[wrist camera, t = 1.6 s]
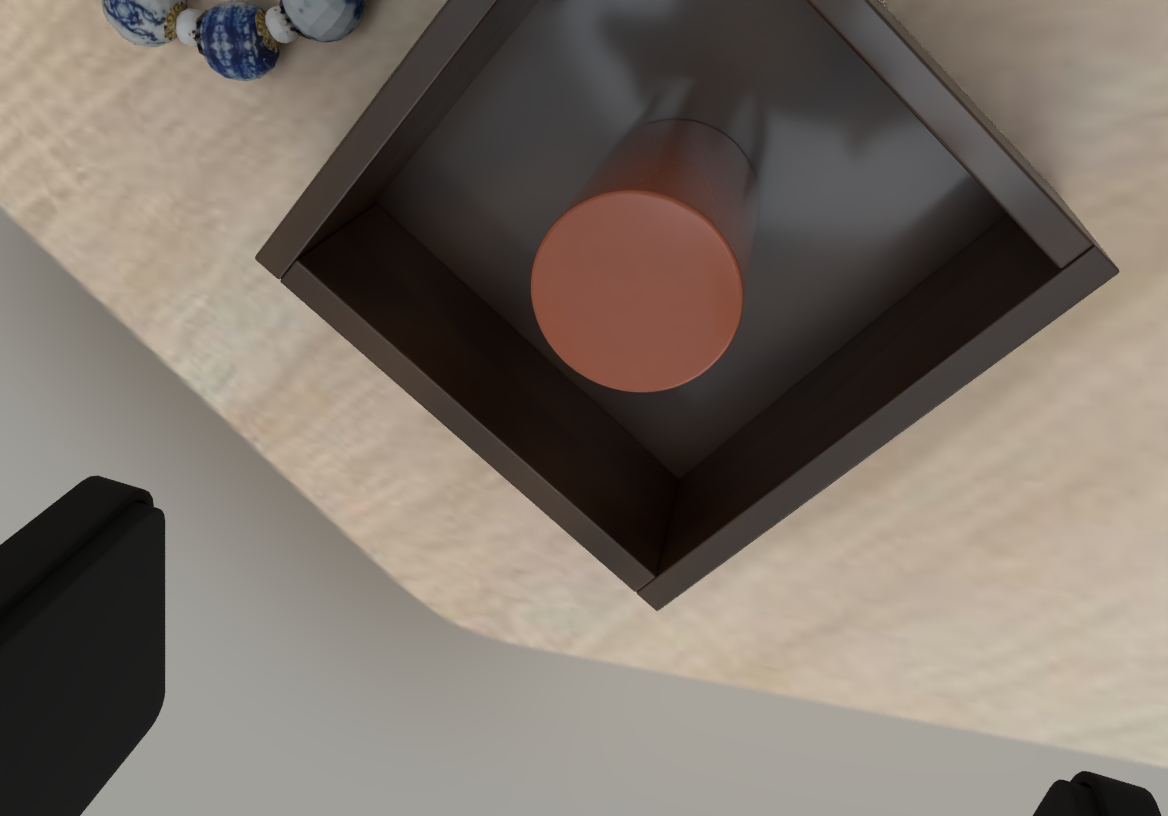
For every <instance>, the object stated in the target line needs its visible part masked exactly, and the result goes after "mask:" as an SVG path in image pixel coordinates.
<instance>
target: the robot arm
mask: <svg viewBox="0 0 1168 816" xmlns="http://www.w3.org/2000/svg"><path fill="white" fill-rule="evenodd" d="M164 697H165V518H164V513H163V512H162V510H160V509H158V508H155V507H154V505H153V498H152V496H151V495H150V493H149V492H148V491H146V490H144V489H141V488H137V487H134V486H131V485H127V484H124V483H120V482H117V481H114V480H110V479H107V478H104V477H100V476H90V477H88V478H87V479H85V480H83V481H82V482H80V483H79V484H78V485H76V486H75V487H74V488H73V489H72V490H70V491H69V492H67V493H66V494H65V495H64V496H62V497H61V498H60V499H59V500H57V501H56V502H55V503H53V504H52V505H51V506H50V507H48V508H47V509H46V510H44V511H43V512H42V513H41V514H40V515H38V516H37V517H36V518H34V519H33V520H32V521H30V522H29V523H28V524H27V525H25V526H24V527H23V528H22V529H20V530H19V531H18V532H16V533H15V534H14V535H13V536H11V537H10V538H9V539H8V540H6V541H5V542H4V543H3V544H1V545H0V816H80V815H81V814H82V812H83V811H84V810H85V809H86V807H87V806H88V805H89V804H90V803H91V801H92V800H93V799H94V798H95V796H96V795H97V794H98V793H99V791H100V790H101V789H102V788H103V787H104V785H105V784H106V783H107V781H108V780H109V779H110V778H111V777H112V775H113V774H114V773H115V772H116V770H117V769H118V768H119V766H120V765H121V764H122V763H123V762H124V761H125V759H126V758H127V757H128V756H129V754H130V753H131V752H132V751H133V749H134V748H135V747H136V746H137V744H138V743H139V742H140V741H141V739H142V738H143V737H144V736H145V734H146V733H147V732H148V731H149V729H150V728H151V727H152V725H153V724H154V722H155V721H156V719H157V717H158V715H159V713H160V710H161V708H162V705H163V701H164ZM1033 816H1161V813H1160V811H1159V808H1158V806H1157V803H1156V801H1155V799H1154V798H1153V796H1152V794H1151V793H1150V792H1149V791H1147V790H1146V789H1145V788H1142V787H1139V786H1135V785H1132V784H1129V783H1125V782H1122V781H1119V780H1115V779H1112V778H1109V777H1105V776H1102V775H1098V774H1095V773H1092V772H1087V771H1082V772H1080V773H1078V774H1076V775H1075V776H1074V777H1073V779H1072V780H1071V781H1070V782H1069V781H1065V780H1058V781H1056V782H1054V784H1053V785H1052V786H1051V787H1050V789H1049V791H1048V792H1047V793H1046V795H1045V797H1044V799H1043V800H1042V802H1041V803H1040V805H1039V806H1038V808H1037V810H1036V811H1035V813H1034V814H1033Z"/></svg>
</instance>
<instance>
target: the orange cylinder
mask: <svg viewBox="0 0 1168 816" xmlns="http://www.w3.org/2000/svg"><path fill="white" fill-rule="evenodd" d="M759 210H760V193H759V187H758V182H757V179H756V176H755V173H754V171H753V168H752V166H751V164H750V162H749V161H748V159H747V158H746V156H745V155H744V153H743V152H742V151H741V149H740V148H739V147H738V146H737V145H736V144H735V143H734V142H733V141H732V140H731V139H729V138H728V137H727V136H726V135H724V134H723V133H721V132H720V131H718V130H716V129H714V128H712V127H710V126H708V125H705V124H702V123H699V122H695V121H690V120H681V119H670V120H661V121H657V122H652V123H650V124H647V125H644V126H642V127H640V128H638V129H636V130H634V131H632V132H631V133H629V134H628V135H626V136H625V137H624V138H622V139H621V140H620V141H619V142H618V143H617V144H616V145H615V146H614V147H613V149H612V150H611V151H610V152H609V154H608V155H607V156H606V157H605V159H604V160H603V161H602V163H601V164H600V165H599V166H598V168H597V169H596V170H595V171H594V173H593V174H592V175H591V176H590V178H589V179H588V180H587V182H586V183H585V184H584V185H583V187H582V188H581V189H580V190H579V192H578V193H577V194H576V196H575V197H574V198H573V199H572V201H571V202H570V203H569V204H568V206H567V207H566V208H565V209H564V211H563V212H562V213H561V215H560V216H559V217H558V218H557V220H556V221H555V222H554V223H553V225H552V226H551V227H550V229H549V230H548V231H547V233H546V234H545V236H544V238H543V239H542V241H541V243H540V245H539V248H538V250H537V252H536V255H535V259H534V262H533V266H532V273H531V298H532V304H533V309H534V312H535V316H536V319H537V321H538V324H539V326H540V328H541V331H542V332H543V334H544V336H545V338H546V339H547V341H548V343H549V344H550V345H551V347H552V348H553V349H554V351H555V352H556V353H557V354H558V355H559V356H560V357H561V358H562V359H563V360H564V361H565V362H566V363H567V364H568V365H569V366H570V367H572V368H573V369H574V370H575V371H577V372H578V373H580V374H582V375H583V376H585V377H586V378H588V379H590V380H592V381H594V382H596V383H598V384H601V385H604V386H607V387H610V388H613V389H618V390H622V391H630V392H654V391H661V390H666V389H670V388H674V387H677V386H680V385H682V384H685V383H687V382H689V381H691V380H693V379H695V378H696V377H698V376H700V375H701V374H703V373H704V372H705V371H707V370H708V369H709V368H711V367H712V366H713V365H714V364H715V363H716V362H717V361H718V360H719V359H720V358H721V356H722V355H723V354H724V352H725V351H726V350H727V349H728V347H729V345H730V343H731V342H732V340H733V338H734V336H735V334H736V331H737V329H738V326H739V323H740V319H741V315H742V310H743V304H744V299H745V293H746V287H747V282H748V276H749V270H750V264H751V259H752V253H753V247H754V241H755V236H756V230H757V224H758V218H759Z"/></svg>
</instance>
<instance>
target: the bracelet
mask: <svg viewBox="0 0 1168 816" xmlns="http://www.w3.org/2000/svg"><path fill="white" fill-rule="evenodd" d="M102 4H103V12H104V15H105V17H106V19H107V21H108V22H109V23H110V24H111V25H112V26H113V27H114V29H115V30H116V31H117V32H118V33H119V34H120V35H121V36H122V37H123V38H125V39H127V40H128V41H130V42H132V43H133V44H135V45H140V46H146V47H158V46H161V45H163V44H166V43H168V42H170V41H173V40H174V39H175V38H176V37H178V38H179V40H180V41H181V42H182V43H184V44H185V45H189V46H198V50H199V53H200V54H202V55H204V56H205V59H206V61H207V62H208V64H209V65H210V67H211V68H212V69H213V70H215V71H216V72H218V73H219V74H221V75H222V76H224V77H225V78H230V79H235V80H242V81H248V80H253V79H258V78H261V77H262V76H263V75H264V74H266V73H267V72H268V71H269V70H271V69H272V68H273V67H275V64H276V62H277V59H278V57H279V48H280V46H281V43H289V42H291V41H294V40H295V39H296V38H298V36H302V37H305V38H308V39H310V40H311V39H314V40H316V41H319V42H331V41H337V40H341V39H342V38H344V37H345V36H346V35H348V34H349V33H351V32H352V31H353V30H354V29H355V28H356V27H357V25H358V23H359V22H360V20H361V19H362V17H363V13H364V7H365V0H281V1H280V4H279V5H277V6H274V7H272V8H270V9H269V10H268V11H267V12H265V11H264V10H262V9H261V8H259V7H258V6H256V5H255V4H250V3H244V2H239V1H234V0H233V1H228V2H224V3H220V4H218V5H216V6H215V7H213V8H212V9H211V10H210V11H207V10H206V11H205V12H204V13H202V12H201V11H199V10H198V9H191V8H188V9H187V5H186V0H103V2H102Z"/></svg>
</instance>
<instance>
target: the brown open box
mask: <svg viewBox="0 0 1168 816" xmlns="http://www.w3.org/2000/svg"><path fill="white" fill-rule="evenodd" d="M670 119H681V120H690V121H695V122H699V123H702V124H705V125H708V126H710V127H712V128H714V129H716V130H718V131H720V132H721V133H723V134H724V135H726V136H727V137H728V138H729V139H731V140H732V141H733V142H734V143H735V144H736V145H737V146H738V147H739V148H740V149H741V151H742V152H743V153H744V155H745V156H746V158H747V159H748V161H749V162H750V164H751V166H752V168H753V171H754V173H755V176H756V179H757V182H758V187H759V193H760V210H759V218H758V224H757V230H756V236H755V241H754V247H753V253H752V259H751V264H750V270H749V276H748V282H747V287H746V293H745V299H744V304H743V310H742V315H741V319H740V323H739V326H738V329H737V331H736V334H735V336H734V338H733V340H732V342H731V343H730V345H729V347H728V349H727V350H726V351H725V352H724V354H723V355H722V356H721V358H720V359H719V360H718V361H717V362H716V363H715V364H714V365H713V366H712V367H711V368H709V369H708V370H707V371H705V372H704V373H703V374H701V375H700V376H698V377H696V378H695V379H693V380H691V381H689V382H687V383H685V384H682V385H680V386H677V387H674V388H670V389H666V390H661V391H654V392H630V391H622V390H618V389H613V388H610V387H607V386H604V385H601V384H598V383H596V382H594V381H592V380H590V379H588V378H586V377H585V376H583V375H582V374H580V373H578V372H577V371H575V370H574V369H573V368H572V367H570V366H569V365H568V364H567V363H566V362H565V361H564V360H563V359H562V358H561V357H560V356H559V355H558V354H557V353H556V352H555V351H554V349H553V348H552V347H551V345H550V344H549V343H548V341H547V339H546V338H545V336H544V334H543V332H542V331H541V328H540V326H539V324H538V321H537V319H536V316H535V312H534V309H533V304H532V298H531V273H532V266H533V262H534V259H535V255H536V252H537V250H538V248H539V245H540V243H541V241H542V239H543V238H544V236H545V234H546V233H547V231H548V230H549V229H550V227H551V226H552V225H553V223H554V222H555V221H556V220H557V218H558V217H559V216H560V215H561V213H562V212H563V211H564V209H565V208H566V207H567V206H568V204H569V203H570V202H571V201H572V199H573V198H574V197H575V196H576V194H577V193H578V192H579V190H580V189H581V188H582V187H583V185H584V184H585V183H586V182H587V180H588V179H589V178H590V176H591V175H592V174H593V173H594V171H595V170H596V169H597V168H598V166H599V165H600V164H601V163H602V161H603V160H604V159H605V157H606V156H607V155H608V154H609V152H610V151H611V150H612V149H613V147H614V146H615V145H616V144H617V143H618V142H619V141H620V140H621V139H622V138H624V137H625V136H626V135H628V134H629V133H631V132H632V131H634V130H636V129H638V128H640V127H642V126H644V125H647V124H650V123H652V122H657V121H661V120H670ZM255 259H256V260H257V261H258V262H259V263H260V264H261V265H262V266H264V267H265V268H266V269H267V270H268V271H269V272H270V273H272V274H273V275H274V276H275V277H276V278H278V279H281V283H282V284H284V285H285V286H286V287H287V288H288V289H289V290H290V291H292V292H293V293H294V294H295V295H296V296H297V297H298V298H300V299H301V300H302V301H303V302H304V303H305V304H306V305H308V306H309V307H310V308H311V309H312V310H313V311H314V312H316V313H317V314H318V315H319V316H320V317H321V318H322V319H324V320H325V321H326V322H327V323H328V324H329V325H330V326H332V327H333V328H334V329H335V330H336V331H337V332H338V333H340V334H341V335H342V336H343V337H344V338H345V339H346V340H348V341H349V342H350V343H351V344H352V345H353V346H354V347H356V348H357V349H358V350H359V351H360V352H361V353H362V354H364V355H365V356H366V357H367V358H368V359H369V360H370V361H372V362H373V363H374V364H375V365H376V366H377V367H378V368H380V369H381V370H382V371H383V372H384V373H385V374H386V375H388V376H389V377H390V378H391V379H392V380H393V381H394V382H396V383H397V384H398V385H399V386H400V387H401V388H402V389H404V390H405V391H406V392H407V393H408V394H409V395H410V396H412V397H413V398H414V399H415V400H416V401H417V402H418V403H420V404H421V405H422V406H423V407H424V408H425V409H426V410H428V411H429V412H430V413H431V414H432V415H433V416H434V417H436V418H437V419H438V420H439V421H440V422H441V423H442V424H444V425H445V426H446V427H447V428H448V429H449V430H450V431H452V432H453V433H454V434H455V435H456V436H457V437H458V438H460V439H461V440H462V441H463V442H464V443H465V444H466V445H468V446H469V447H470V448H471V449H472V450H473V451H474V452H476V453H477V454H478V455H479V456H480V457H481V458H482V459H484V460H485V461H486V462H487V463H488V464H489V465H490V466H492V467H493V468H494V469H495V470H496V471H497V472H498V473H500V474H501V475H502V476H503V477H504V478H505V479H506V480H508V481H509V482H510V483H511V484H512V485H513V486H514V487H516V488H517V489H518V490H519V491H520V492H521V493H522V494H524V495H525V496H526V497H527V498H528V499H529V500H530V501H532V502H533V503H534V504H535V505H536V506H537V507H538V508H540V509H541V510H542V511H543V512H544V513H545V514H546V515H548V516H549V517H550V518H551V519H552V520H553V521H554V522H556V523H557V524H558V525H559V526H560V527H561V528H562V529H564V530H565V531H566V532H567V533H568V534H569V535H570V536H572V537H573V538H574V539H575V540H576V541H577V542H579V543H580V544H581V545H582V546H583V547H584V548H585V549H587V550H588V551H589V552H590V553H591V554H592V555H593V556H595V557H596V558H597V559H598V560H599V561H600V562H601V563H603V564H604V565H605V566H606V567H607V568H608V569H609V570H611V571H612V572H613V573H614V574H615V575H616V576H617V577H619V578H620V579H621V580H622V581H623V582H624V583H625V584H627V585H628V586H629V587H630V588H631V589H632V590H633V591H635V592H637V594H638V595H639V596H640V597H641V598H642V599H644V600H645V601H646V602H647V603H648V604H649V605H650V606H652V607H653V608H654V609H655V610H656V611H659V610H660V609H661V608H663V607H664V606H665V605H667V604H668V603H669V602H671V601H672V600H674V599H675V598H676V597H678V596H679V595H680V594H682V593H683V592H684V591H686V590H687V589H689V588H690V587H691V586H693V585H694V584H695V583H697V582H698V581H699V580H701V579H702V578H704V577H705V576H706V575H708V574H709V573H710V572H712V571H713V570H714V569H716V568H717V567H719V566H720V565H721V564H723V563H724V562H725V561H727V560H728V559H729V558H731V557H732V556H734V555H735V554H736V553H738V552H739V551H740V550H742V549H743V548H744V547H746V546H747V545H748V544H750V543H751V542H753V541H754V540H755V539H757V538H758V537H759V536H761V535H762V534H763V533H765V532H766V531H768V530H769V529H770V528H772V527H773V526H774V525H776V524H777V523H778V522H780V521H781V520H783V519H784V518H785V517H787V516H788V515H789V514H791V513H792V512H793V511H795V510H796V509H798V508H799V507H800V506H802V505H803V504H804V503H806V502H807V501H808V500H810V499H811V498H813V497H814V496H815V495H817V494H818V493H819V492H821V491H822V490H823V489H825V488H826V487H828V486H829V485H830V484H832V483H833V482H834V481H836V480H837V479H838V478H840V477H841V476H843V475H844V474H845V473H847V472H848V471H849V470H851V469H852V468H853V467H855V466H856V465H858V464H859V463H860V462H862V461H863V460H864V459H866V458H867V457H868V456H870V455H871V454H873V453H874V452H875V451H877V450H878V449H879V448H881V447H882V446H883V445H885V444H886V443H888V442H889V441H890V440H892V439H893V438H894V437H896V436H897V435H898V434H900V433H901V432H903V431H904V430H905V429H907V428H908V427H909V426H911V425H912V424H913V423H915V422H916V421H918V420H919V419H920V418H922V417H923V416H924V415H926V414H927V413H928V412H930V411H931V410H933V409H934V408H935V407H937V406H938V405H939V404H941V403H942V402H943V401H945V400H946V399H948V398H949V397H950V396H952V395H953V394H954V393H956V392H957V391H958V390H960V389H961V388H963V387H964V386H965V385H967V384H968V383H969V382H971V381H972V380H973V379H975V378H976V377H977V376H979V375H980V374H982V373H983V372H984V371H986V370H987V369H988V368H990V367H991V366H992V365H994V364H995V363H997V362H998V361H999V360H1001V359H1002V358H1003V357H1005V356H1006V355H1007V354H1009V353H1010V352H1012V351H1013V350H1014V349H1016V348H1017V347H1018V346H1020V345H1021V344H1022V343H1024V342H1025V341H1027V340H1028V339H1029V338H1031V337H1032V336H1033V335H1035V334H1036V333H1037V332H1039V331H1040V330H1042V329H1043V328H1044V327H1046V326H1047V325H1048V324H1050V323H1051V322H1052V321H1054V320H1055V319H1057V318H1058V317H1059V316H1061V315H1062V314H1063V313H1065V312H1066V311H1067V310H1069V309H1070V308H1072V307H1073V306H1074V305H1076V304H1077V303H1078V302H1080V301H1081V300H1082V299H1084V298H1085V297H1087V296H1088V295H1089V294H1091V293H1092V292H1093V291H1095V290H1096V289H1097V288H1099V287H1100V286H1102V285H1103V284H1104V283H1106V282H1107V281H1108V280H1110V279H1111V278H1112V277H1114V276H1115V275H1117V274H1118V273H1119V269H1118V268H1117V267H1116V265H1115V264H1114V263H1113V262H1112V260H1111V259H1110V258H1109V257H1108V255H1107V254H1106V253H1105V252H1104V250H1103V249H1102V248H1101V247H1100V245H1099V244H1098V243H1097V242H1096V240H1095V239H1094V238H1093V237H1092V235H1091V234H1090V233H1089V232H1088V230H1087V229H1086V228H1085V227H1084V225H1083V224H1082V223H1081V222H1080V220H1079V219H1078V218H1077V217H1076V215H1075V214H1074V213H1073V212H1072V210H1071V209H1070V208H1069V207H1068V205H1067V204H1066V203H1065V202H1064V200H1063V199H1062V198H1061V197H1060V196H1059V195H1058V194H1057V192H1056V191H1055V190H1054V189H1053V188H1052V187H1051V186H1050V185H1049V184H1048V183H1047V182H1046V181H1045V179H1044V178H1043V177H1042V176H1041V175H1040V174H1039V173H1038V172H1037V171H1036V170H1035V169H1034V168H1033V166H1032V165H1031V164H1030V163H1029V162H1028V161H1027V160H1026V159H1025V158H1024V157H1023V156H1022V155H1021V153H1020V152H1019V151H1018V150H1017V149H1016V148H1015V147H1014V146H1013V145H1012V144H1011V143H1010V142H1009V141H1008V139H1007V138H1006V137H1005V136H1004V135H1003V134H1002V133H1001V132H1000V131H999V130H998V129H997V128H996V126H995V125H994V124H993V123H992V122H991V121H990V120H989V119H988V118H987V117H986V116H985V115H984V113H983V112H982V111H981V110H980V109H979V108H978V107H977V106H976V105H975V104H974V103H973V102H972V100H971V99H970V98H969V97H968V96H967V95H966V94H965V93H964V92H963V91H962V90H961V89H960V88H959V86H958V85H957V84H956V83H955V82H954V81H953V80H952V79H951V78H950V77H949V76H948V75H947V73H946V72H945V71H944V70H943V69H942V68H941V67H940V66H939V65H938V64H937V63H936V62H935V60H934V59H933V58H932V57H931V56H930V55H929V54H928V53H927V52H926V51H925V50H924V49H923V47H922V46H921V45H920V44H919V43H918V42H917V41H916V40H915V39H914V38H913V37H912V36H911V35H910V33H909V32H908V31H907V30H906V29H905V28H904V27H903V26H902V25H901V24H900V23H899V22H898V20H897V19H896V18H895V17H894V16H893V15H892V14H891V13H890V12H889V11H888V10H887V9H886V7H885V6H884V5H883V4H882V3H881V2H880V1H879V0H447V2H446V3H445V4H444V6H443V7H442V8H441V10H440V11H439V12H438V14H437V15H436V16H435V18H434V19H433V20H432V22H431V23H430V24H429V26H428V27H427V28H426V30H425V31H424V32H423V34H422V35H421V36H420V38H419V39H418V40H417V42H416V43H415V44H414V46H413V47H412V48H411V50H410V51H409V52H408V54H407V55H406V56H405V57H404V59H403V60H402V61H401V63H400V64H399V65H398V67H397V68H396V69H395V71H394V72H393V73H392V75H391V76H390V77H389V79H388V80H387V81H386V83H385V84H384V85H383V87H382V88H381V89H380V91H379V92H378V93H377V95H376V96H375V97H374V99H373V100H372V101H371V103H370V104H369V105H368V107H367V108H366V109H365V111H364V112H363V113H362V115H361V116H360V117H359V119H358V120H357V121H356V123H355V124H354V125H353V127H352V128H351V129H350V131H349V132H348V133H347V135H346V136H345V137H344V139H343V140H342V141H341V143H340V144H339V145H338V147H337V148H336V149H335V151H334V152H333V153H332V155H331V156H330V157H329V159H328V160H327V161H326V163H325V164H324V165H323V167H322V168H321V169H320V171H319V172H318V173H317V175H316V176H315V177H314V179H313V180H312V181H311V183H310V184H309V185H308V187H307V188H306V189H305V191H304V192H303V193H302V195H301V196H300V197H299V199H298V200H297V201H296V203H295V204H294V205H293V207H292V208H291V209H290V211H289V212H288V213H287V215H286V216H285V217H284V219H283V220H282V221H281V223H280V224H279V225H278V227H277V228H276V229H275V231H274V232H273V233H272V235H271V236H270V237H269V239H268V240H267V241H266V243H265V244H264V245H263V247H262V248H261V249H260V251H259V252H258V253H257V255H256V257H255Z"/></svg>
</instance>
